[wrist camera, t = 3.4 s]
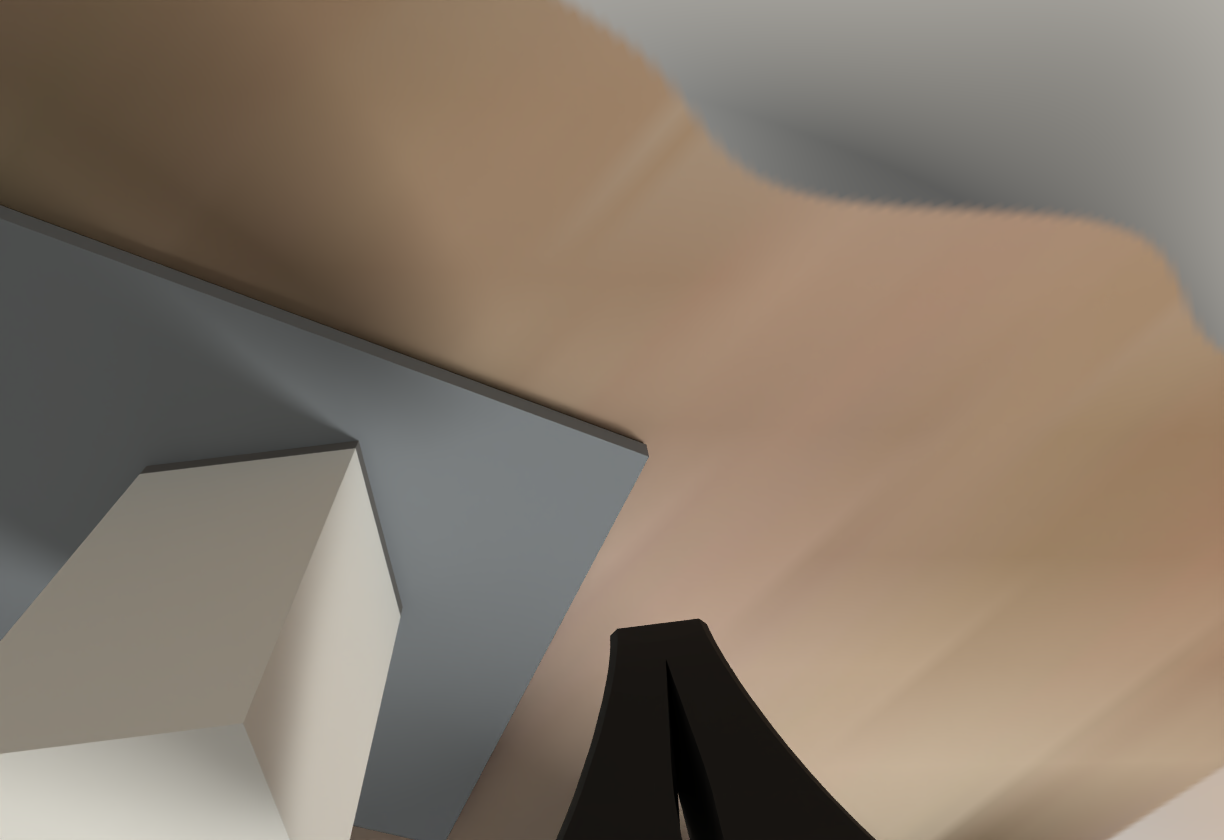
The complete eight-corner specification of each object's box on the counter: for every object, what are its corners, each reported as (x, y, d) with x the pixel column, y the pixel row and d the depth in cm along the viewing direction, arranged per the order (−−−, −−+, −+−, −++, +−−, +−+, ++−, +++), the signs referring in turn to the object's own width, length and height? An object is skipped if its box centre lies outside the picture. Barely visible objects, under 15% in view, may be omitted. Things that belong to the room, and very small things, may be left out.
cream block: (359, 440, 16) (242, 722, 10) (402, 606, 18) (328, 934, 12) (146, 466, 16) (-104, 767, 10) (212, 631, 18) (34, 972, 12)
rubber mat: (646, 444, 17) (648, 456, 17) (444, 828, 22) (443, 846, 21) (-277, 102, 13) (-305, 106, 13) (-286, 657, 18) (-308, 674, 17)
